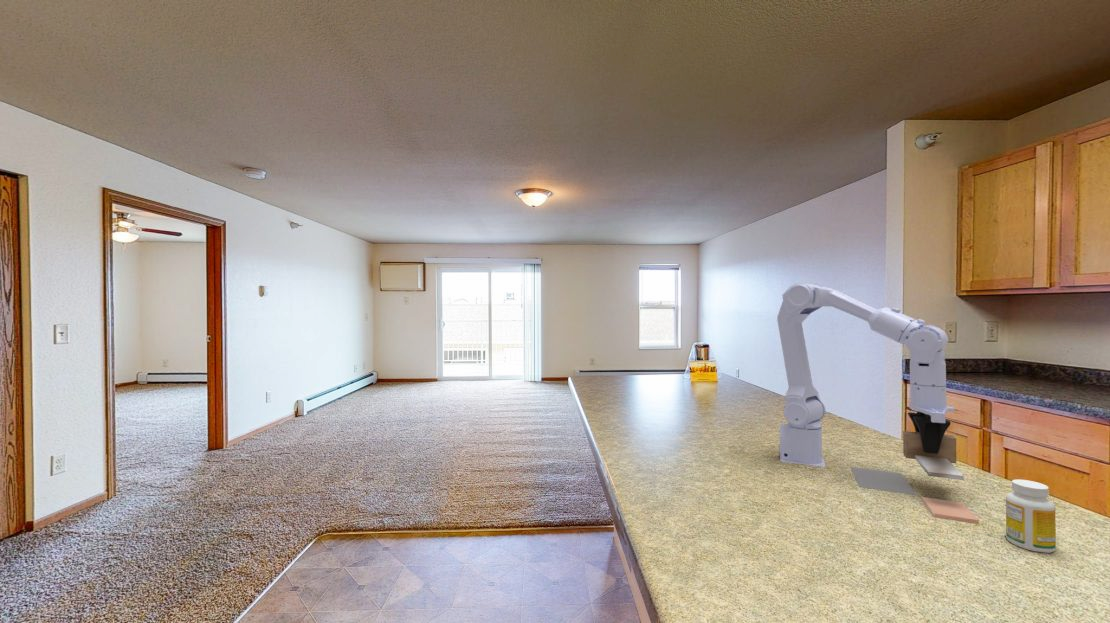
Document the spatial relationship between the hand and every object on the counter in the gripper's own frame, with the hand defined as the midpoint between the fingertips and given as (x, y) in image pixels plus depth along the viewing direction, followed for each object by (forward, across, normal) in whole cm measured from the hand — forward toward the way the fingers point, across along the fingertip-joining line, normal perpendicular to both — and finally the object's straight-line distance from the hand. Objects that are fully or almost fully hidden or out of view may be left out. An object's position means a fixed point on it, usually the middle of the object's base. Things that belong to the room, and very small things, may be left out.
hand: (928, 450), depth 92 cm
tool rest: (+8, +2, +8) cm, 12 cm away
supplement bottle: (+8, -20, -8) cm, 23 cm away
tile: (+8, -8, 0) cm, 11 cm away
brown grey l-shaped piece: (+2, -4, 0) cm, 4 cm away
